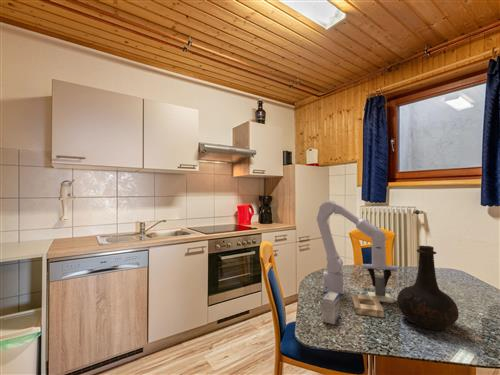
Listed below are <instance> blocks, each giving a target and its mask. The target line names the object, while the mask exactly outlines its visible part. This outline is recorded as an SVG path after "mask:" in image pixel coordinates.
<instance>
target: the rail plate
mask: <svg viewBox="0 0 500 375" xmlns="http://www.w3.org/2000/svg"><path fill="white" fill-rule="evenodd" d="M351 295H352V296H351V297H352V305H353V309H354V310H353V311H354V313H355V315H360V316H361V315H362V316H369V317H377V318H384V317H385V316H384V315H385V314H384V309H383V307H382V304H381V302H380V301H379V300H378V298H377V297H375V296H368V295H364V294H358V293H357V294H356V293H352V294H351Z"/></svg>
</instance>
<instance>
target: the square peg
mask: <svg viewBox="0 0 500 375" xmlns="http://www.w3.org/2000/svg"><path fill="white" fill-rule="evenodd" d="M373 292H374V293H375V295H378V296H386V295H385V293H386V287H385V277H384V274H375V286H373Z"/></svg>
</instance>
